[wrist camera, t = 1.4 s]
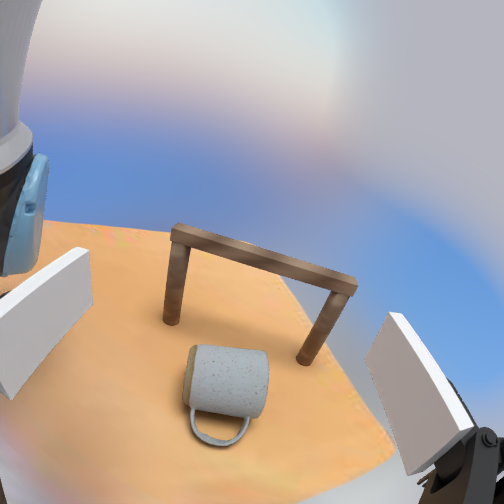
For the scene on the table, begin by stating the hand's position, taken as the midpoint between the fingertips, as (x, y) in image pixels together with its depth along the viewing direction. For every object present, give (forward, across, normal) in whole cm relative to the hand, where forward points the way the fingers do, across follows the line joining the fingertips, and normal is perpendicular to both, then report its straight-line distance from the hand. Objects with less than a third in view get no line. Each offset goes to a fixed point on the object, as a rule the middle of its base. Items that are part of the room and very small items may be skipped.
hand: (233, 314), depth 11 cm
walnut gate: (+21, +2, -19) cm, 28 cm away
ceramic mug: (+10, +1, -20) cm, 22 cm away
